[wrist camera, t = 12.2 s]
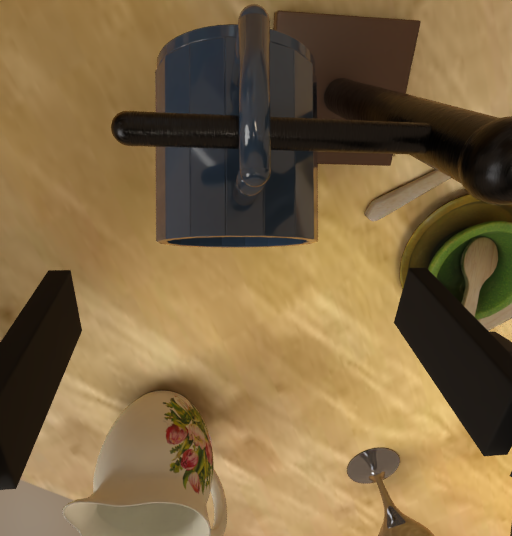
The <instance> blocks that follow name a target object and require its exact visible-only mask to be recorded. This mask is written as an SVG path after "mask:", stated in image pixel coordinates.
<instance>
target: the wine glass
mask: <svg viewBox="0 0 512 536" xmlns="http://www.w3.org/2000/svg"><path fill="white" fill-rule="evenodd" d="M399 463H400V459H399V456H398V454H397V453H396V452H395V451H393V450H390V449H387V448H374V449H370V450H367V451H364V452H362V453H360V454H359V455H357V456H356V457H354V458H353V459H352V460H351V461H350V463H349V465H348V467H347V474H348V476H349V477H350V478H351V479H352V480H353V481H355V482H358V483H375V482H377V485H378V487H379V490H380V493H381V497H382V501H383V505H384V521H383V524H382V527H381V529H380V532H379V535H378V536H434V534H433V533H432V532H431V531H430V530H429V529H428V528H426V527H425V526H424V525H422V524H421V523H419V522H417V521H415V520H413V519H412V518H410V517H408V516H406V515H405V514H403V513H402V512H401V511H400V510H399V509H398V508H397V507H396V506H395V505H394V503H393V501H392V500H391V498H390V496H389V494H388V492H387V490H386V488H385V486H384V484H383V481H382V480H384V479H386V478H387V477H389V476H390V475H392V474H393V473H394V472H395V471H396V470H397V468H398V466H399Z"/></svg>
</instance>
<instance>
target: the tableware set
mask: <svg viewBox="0 0 512 536" xmlns="http://www.w3.org/2000/svg"><path fill="white" fill-rule="evenodd" d="M450 178H451V177H449V176H447V175H445V174H444V173H442V172H440V171H438V170H435V171H433V172H431V173H428V174H426V175H424V176H422V177H420V178H418V179H416V180H414V181H412V182H410V183H408V184H406V185H404V186H402V187H400V188H398V189H395V190H393V191H391V192H389V193H387V194H385V195H383V196H381V197H379V198H377V199H375V200H373V201H372V202H371V203H370V205H369V207H368V208H367V210H366V211H365V215H366V217H367V218H368V219H369V220H371V221H377V220H379V219H381V218H383V217H385V216H386V215H388V214H390V213H391V212H393V211H395V210H397V209H398V208H400V207H402V206H403V205H405V204H407V203H408V202H410V201H411V200H413V199H415V198H417V197H418V196H420V195H422V194H424V193H426V192H427V191H429V190H431V189H432V188H434V187H436V186H438V185H439V184H441V183H443V182H444V181H446V180H448V179H450ZM408 268H427V269H428V270H429V271H430V272H431V273H432V274H433V275H434V276H435V277H436V278H437V279H438V280H439V281H440V282H441V283H442V284H443V285H444V286H445V287H446V288H447V289H448V290H449V291H450V292H451V293H452V294H453V295H454V296H455V297H456V298H457V299H458V301H459V302H460V303H461V304H462V305H463V306H464V307H465V308H466V309H467V310H468V311H469V312H470V313H471V314H472V315H473V316H474V317H475V318H476V319H477V320H478V321H479V322H480V323H481V324H482V325H483V326H484V327H485V328H486V329H487V330H490V329H492V328H494V327H496V326H498V325H500V324H502V323H504V322H505V321H507V320H509V319H511V318H512V204H511V205H492V204H488V203H484V202H482V201H480V200H478V199H476V198H474V197H473V196H472V195H470V194H469V195H466V196H463V197H460V198H457V199H455V200H452V201H450V202H448V203H447V204H445V205H443V206H442V207H440V208H438V209H437V210H436V211H434V212H433V213H432V214H431V215H429V216H428V217H427V218H426V219H425V220H424V221H423V222H422V223H421V224H420V225H419V226H418V228H417V229H416V230H415V232H414V233H413V235H412V236H411V238H410V239H409V241H408V243H407V245H406V247H405V249H404V252H403V255H402V260H401V264H400V281H401V286H402V289H403V287H404V283H405V280H406V276H407V272H408Z"/></svg>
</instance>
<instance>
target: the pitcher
mask: <svg viewBox="0 0 512 536" xmlns="http://www.w3.org/2000/svg"><path fill="white" fill-rule="evenodd" d="M210 491H211V494H212V498H213V502H214V524H213V527H212V529H210V522H209V518H208V513H207V507H206V503H207V501H208V498H209V494H210ZM62 514H63V516H64V518H65V519H66V520H67V521H68V522H69V523H70V525H72V526H73V527H74V528H75V529H77V530H78V532H79V533H80V535H81V536H223V534H224V532H225V528H226V524H227V505H226V498H225V494H224V490H223V487H222V484H221V482H220V479H219V477H218V475H217V474H216V472H215V470H214V468H213V452H212V446H211V441H210V437H209V434H208V430H207V428H206V425H205V423H204V421H203V419H202V417H201V415H200V413H199V412H198V410H197V409H196V408H195V406H194V405H193V404H192V403H190V402H189V401H188V400H187V399H186V398H185V397H184V396H182V395H180V394H178V393H175V392H171V391H154V392H150V393H147V394H145V395H143V396H141V397H140V398H139V399H137V400H135V401H134V402H132V403H131V404H130V405H129V406H128V407H127V408H126V409H125V410H124V411H123V412H122V413H121V414H120V416H119V417H118V418H117V420H116V421H115V423H114V424H113V426H112V427H111V429H110V431H109V432H108V434H107V436H106V439H105V441H104V443H103V445H102V448H101V450H100V453H99V456H98V460H97V464H96V468H95V473H94V480H93V494H92V495H91V496H90V497H88V498H84V499H77V500H75V501H72V502H71V503H68V504H67V505H66V506H65V507H64V508H63V511H62Z"/></svg>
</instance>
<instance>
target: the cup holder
mask: <svg viewBox="0 0 512 536" xmlns="http://www.w3.org/2000/svg"><path fill="white" fill-rule="evenodd" d="M419 27H420V21H416V20H402V19H388V18H373V17H359V16H345V15H331V14H317V13H303V12H289V11H277V12H275V13H274V28H273V30H276V31H279V32H282V33H284V34H287V35H289V36H291V37H293V38H295V39H297V40H298V41H299V42H301V43H302V44H304V45H305V46H306V47H307V48H308V49H309V51H310V52H311V54H312V55H313V58H314V60H315V75H316V78H317V119H315V118H289V117H270V125H271V150H285V151H317V164H348V165H386V166H390V165H391V160H392V156H393V154H409V155H411V156H413V157H415V158H416V159H418V160H420V161H422V162H424V163H425V164H427V165H429V166H431V167H433V168H434V169H436V170H438V171H440V172H442V173H444V174H445V175H447V176H449V177H451V178H453V179H454V180H456V181H458V182H460V183H462V185H463V187H464V188H465V189H466V190H467V192H468V193H469V194H470V195H472V196H473V197H474V198H476V199H478V200H480V201H482V202H484V203H488V204H492V205H511V204H512V117H504V118H497V117H494V116H490V115H486V114H482V113H478V112H474V111H470V110H466V109H462V108H458V107H455V106H451V105H447V104H443V103H439V102H435V101H431V100H427V99H423V98H420V97H416V96H412V95H408V94H406V89H407V84H408V79H409V75H410V70H411V65H412V60H413V56H414V51H415V46H416V41H417V37H418V32H419ZM111 130H112V134H113V136H114V137H115V139H116V140H117V141H118V142H120V143H121V144H123V145H127V146H152V147H185V148H219V149H239V115H214V114H189V113H164V112H139V111H123V112H120V113H118V114H117V115H116V116H115V117H114V118H113V120H112V124H111Z"/></svg>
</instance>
